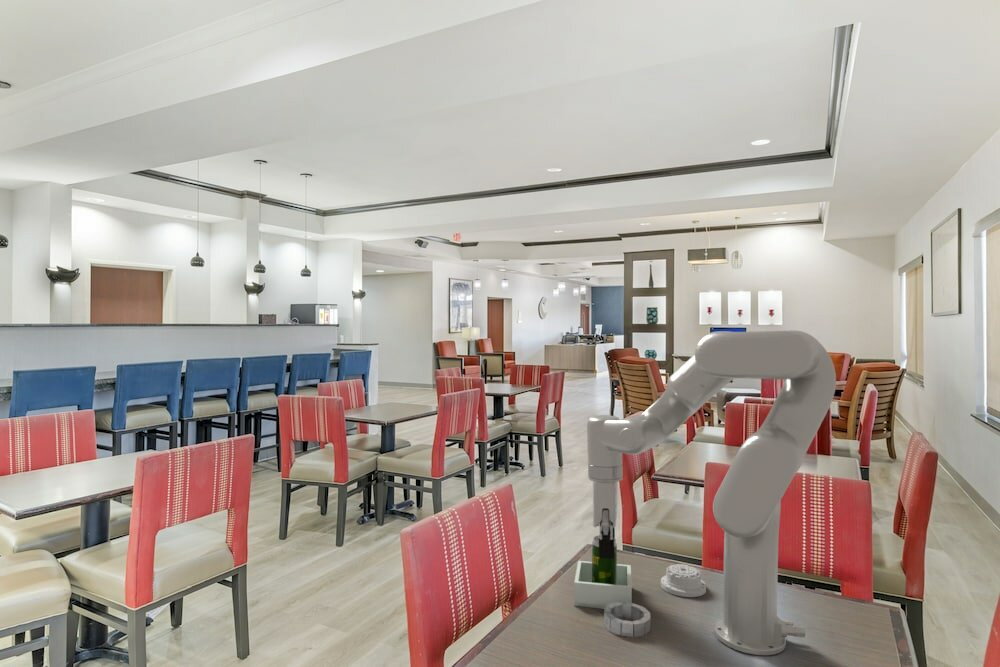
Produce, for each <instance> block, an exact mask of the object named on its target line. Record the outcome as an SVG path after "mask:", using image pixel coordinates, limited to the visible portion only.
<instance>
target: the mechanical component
mask: <svg viewBox="0 0 1000 667" xmlns="http://www.w3.org/2000/svg"><path fill="white" fill-rule="evenodd" d="M665 569H666V572H665V573H666V574H665V575H663V576H662V577H661V578H660V587H661V589H663V590H664V591H665V592H667V593H669V594H671V595H674V596H678V597H682V598H696V597H697V598H698V597H702V596H703V595H705V594H706V593H707V584H706V582H705V581H703V580H702V575H701V574H702V573H701V571H700V570H699V569H696V568H695V566H692V565H691V566H690V565H687V564H683V563H680V564H679V563H677V564H670V565H669V566H667V567H666V568H665Z"/></svg>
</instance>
